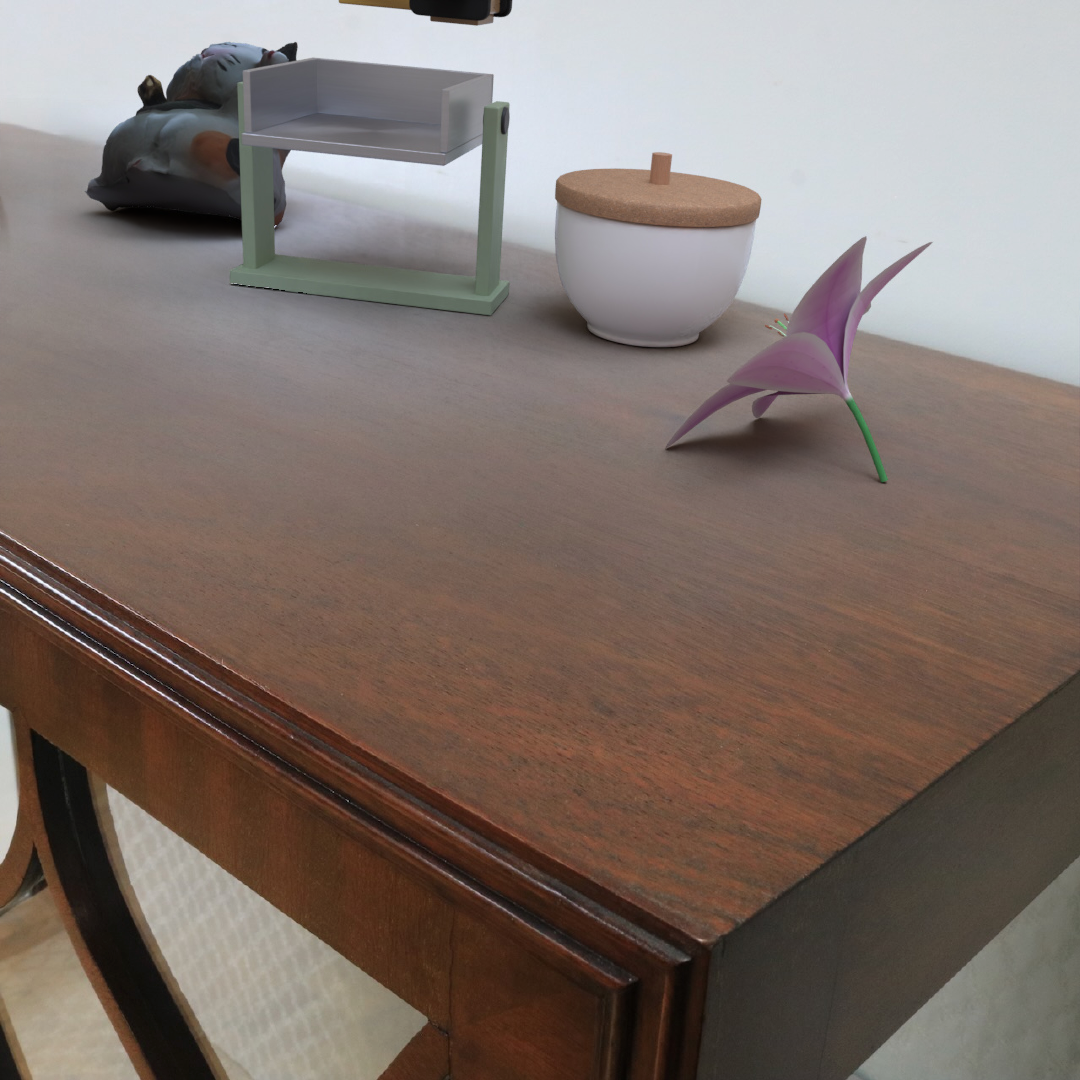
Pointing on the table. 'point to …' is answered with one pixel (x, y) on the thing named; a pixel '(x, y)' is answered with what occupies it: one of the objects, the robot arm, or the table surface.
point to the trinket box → (652, 250)
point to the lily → (811, 345)
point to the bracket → (369, 279)
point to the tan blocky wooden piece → (402, 2)
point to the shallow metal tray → (366, 109)
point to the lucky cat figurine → (188, 139)
